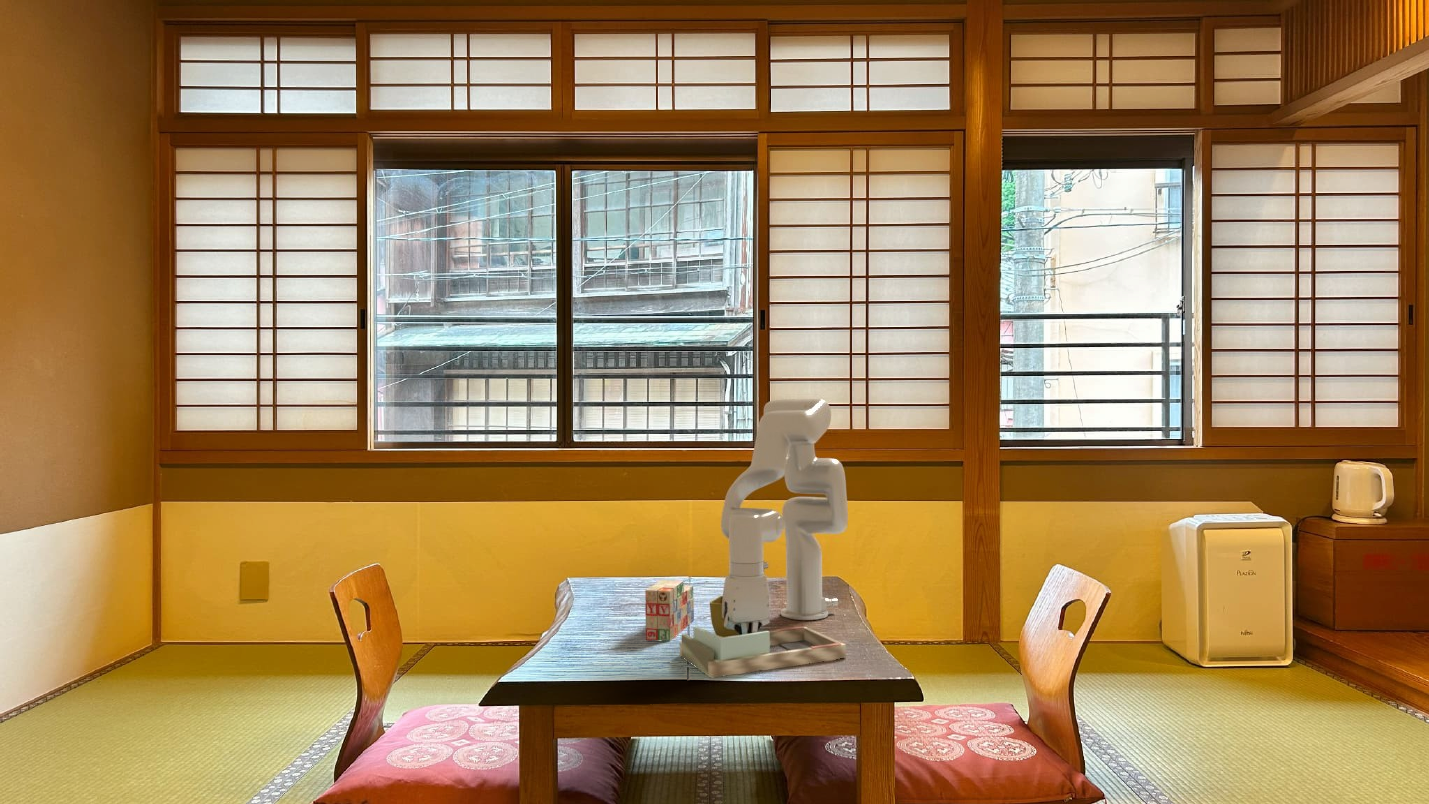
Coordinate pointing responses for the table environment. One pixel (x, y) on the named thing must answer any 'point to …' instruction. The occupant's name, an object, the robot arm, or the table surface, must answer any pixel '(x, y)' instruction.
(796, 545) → the robot arm
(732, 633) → the flower pot
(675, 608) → the stack of blocks
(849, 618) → the table surface
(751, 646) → the l-shaped corner panel
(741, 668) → the box
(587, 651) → the table surface
